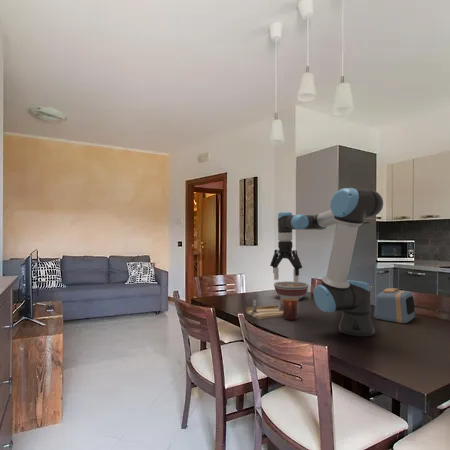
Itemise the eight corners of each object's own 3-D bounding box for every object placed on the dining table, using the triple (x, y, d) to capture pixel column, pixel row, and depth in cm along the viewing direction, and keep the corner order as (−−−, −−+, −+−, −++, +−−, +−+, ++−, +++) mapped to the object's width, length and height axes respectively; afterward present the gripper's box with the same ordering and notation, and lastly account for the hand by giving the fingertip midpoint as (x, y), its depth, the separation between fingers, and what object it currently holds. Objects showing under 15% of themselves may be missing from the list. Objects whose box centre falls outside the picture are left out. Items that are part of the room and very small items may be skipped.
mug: (282, 316, 185) (282, 297, 185) (298, 317, 184) (298, 297, 184) (281, 322, 174) (281, 301, 174) (298, 323, 172) (298, 302, 172)
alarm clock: (407, 325, 168) (406, 292, 168) (372, 319, 179) (372, 288, 179) (416, 318, 180) (415, 288, 180) (383, 313, 191) (383, 285, 191)
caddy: (292, 315, 186) (292, 300, 186) (258, 319, 179) (258, 302, 179) (277, 309, 201) (277, 295, 201) (245, 312, 193) (245, 297, 194)
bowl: (274, 295, 247) (274, 281, 248) (306, 295, 244) (306, 281, 244) (274, 301, 225) (274, 286, 225) (310, 302, 222) (310, 286, 222)
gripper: (308, 241, 178) (309, 282, 177) (273, 240, 197) (273, 278, 196) (299, 241, 173) (299, 283, 172) (263, 240, 192) (264, 279, 192)
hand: (285, 280), depth 184 cm, fingers open, 13 cm apart
